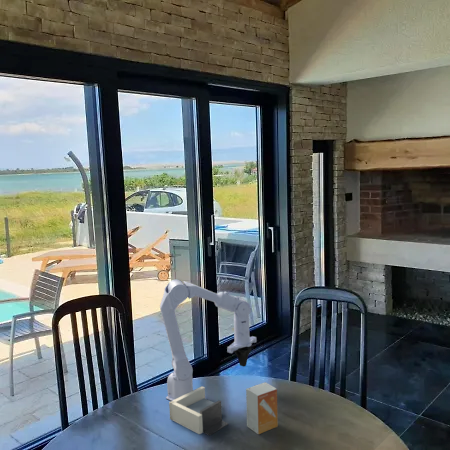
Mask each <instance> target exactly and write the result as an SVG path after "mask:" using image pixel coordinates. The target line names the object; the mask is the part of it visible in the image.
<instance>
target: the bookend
mask: <svg viewBox="0 0 450 450" xmlns="http://www.w3.org/2000/svg"><path fill="white" fill-rule="evenodd" d="M221 406H222V400H217V401H215V402H214V403H213V404H211V405H209V406H208V407H206V408H204V409H202V410H200V414H202V424H203V433H202V434H205V435H207V436H212V435H214V434H215V433H216V432H219V431H220V430H222V429H223V428H225V427H226V426H228V425H229V423H228V422H226V421H225V420H223V415H222V413H223V411H222V408H221Z"/></svg>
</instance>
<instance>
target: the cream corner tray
mask: <svg viewBox="0 0 450 450" xmlns="http://www.w3.org/2000/svg"><path fill="white" fill-rule="evenodd" d="M204 398H205V399H206V387H205V386H202V385H201V386H200V387H197V388H196V389H193V391H191V392H189V393H187V394H185V395H183V396H181V397H179V398H177V399H175V400H173V401H171V400H170V401H169V402H168V403H169V404H168V406H169V420H171V421H173V422H174V423H177V424H179V425H180V426H183V427H184V428H186V429H188V430H190V431H192V432H194V433H196V434H197V435H201V434H204V433H203V424H202V414H200V413H197V412H195V411H193V410H191V409H189V408H187V406H189V405H191V404H193V403H196V402H198V401H200V400H202V399H204Z"/></svg>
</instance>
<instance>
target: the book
mask: <svg viewBox="0 0 450 450" xmlns="http://www.w3.org/2000/svg"><path fill="white" fill-rule="evenodd" d="M213 403H215V402H213V401H211V400H209V399H207V398H206V397H205V398H204V399H202V400H200V401H198V402H196V403H193V404H191V405H189V406H187V408H189V409H191V410H193V411H195V412H197V413H200V410H202V409H204V408H206V407H208V406H209V405H211V404H213ZM222 408H223V406H222V405H221V409H222Z"/></svg>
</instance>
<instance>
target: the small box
mask: <svg viewBox="0 0 450 450" xmlns="http://www.w3.org/2000/svg"><path fill="white" fill-rule="evenodd" d="M245 397H246V398H245V399H246V400H245V401H246V403H245V404H246V426H247V428H248V429H250V430H252V431H253V432H254V433H256V434H257V435H260V434H263V433H265V432H268V431H271V430H273V429H276V428H278V426H279V423H278V422H279V421H278V389H277V387H275V386H273V385H271V384H269V383H268V382H266V381H265V382H262V383H259V384H256V385H253V386H251V387H247V388H246V389H245Z"/></svg>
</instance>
